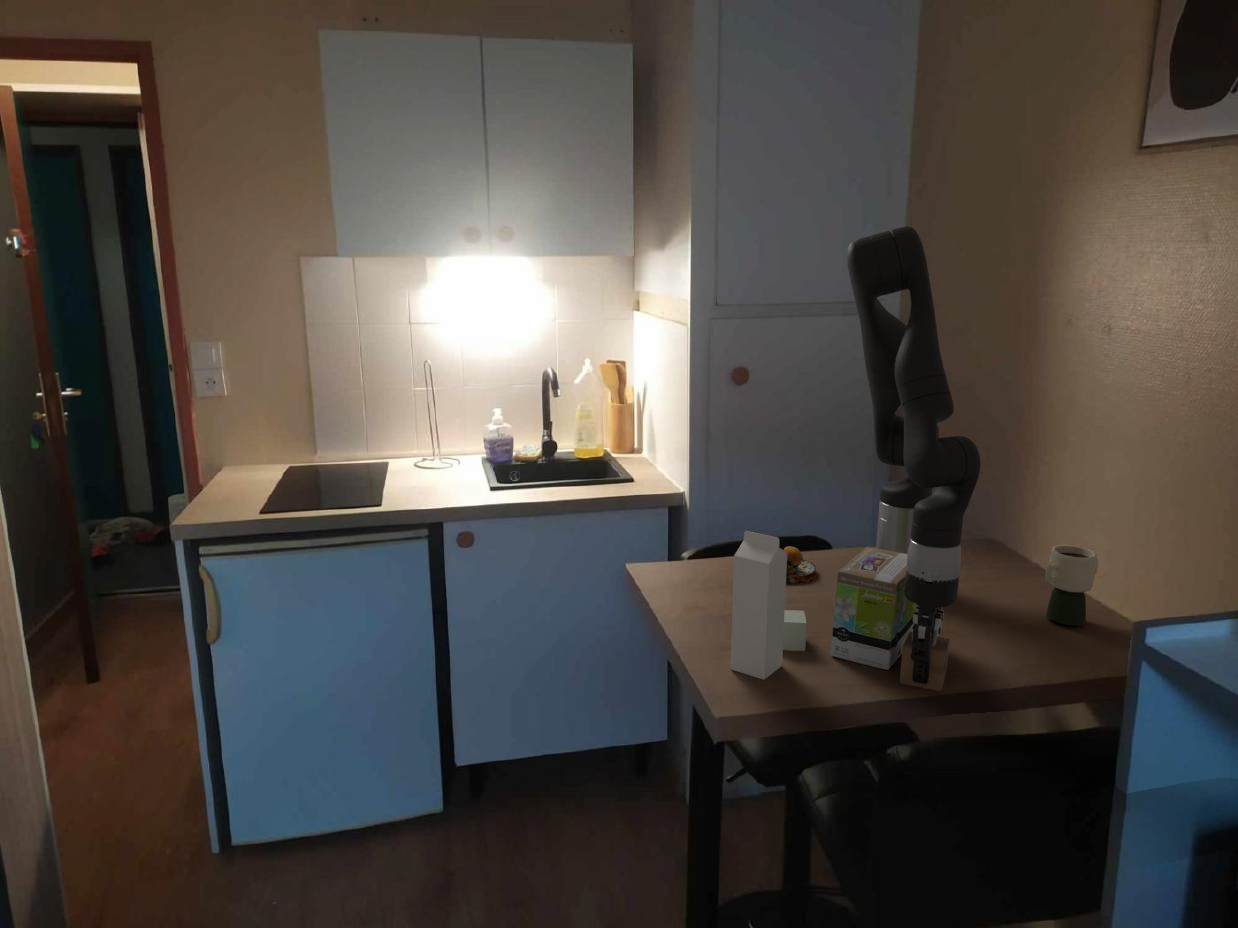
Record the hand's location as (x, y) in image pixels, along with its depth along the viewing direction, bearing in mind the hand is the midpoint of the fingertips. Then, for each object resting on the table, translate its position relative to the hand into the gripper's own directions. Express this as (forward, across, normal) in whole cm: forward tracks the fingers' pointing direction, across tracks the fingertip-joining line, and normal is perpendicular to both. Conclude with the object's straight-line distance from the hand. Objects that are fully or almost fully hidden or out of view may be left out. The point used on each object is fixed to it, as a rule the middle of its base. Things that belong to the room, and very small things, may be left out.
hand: (923, 672), depth 143 cm
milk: (+1, +8, -24) cm, 25 cm away
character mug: (+1, -33, +19) cm, 38 cm away
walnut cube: (+1, 0, 0) cm, 1 cm away
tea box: (+1, -8, -9) cm, 12 cm away
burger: (+1, -34, -32) cm, 47 cm away
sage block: (+1, -3, -22) cm, 22 cm away
